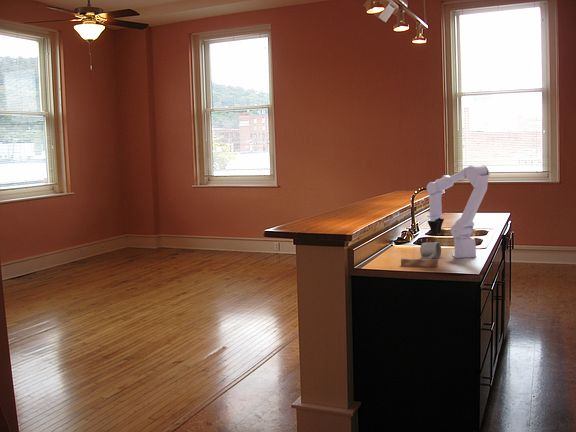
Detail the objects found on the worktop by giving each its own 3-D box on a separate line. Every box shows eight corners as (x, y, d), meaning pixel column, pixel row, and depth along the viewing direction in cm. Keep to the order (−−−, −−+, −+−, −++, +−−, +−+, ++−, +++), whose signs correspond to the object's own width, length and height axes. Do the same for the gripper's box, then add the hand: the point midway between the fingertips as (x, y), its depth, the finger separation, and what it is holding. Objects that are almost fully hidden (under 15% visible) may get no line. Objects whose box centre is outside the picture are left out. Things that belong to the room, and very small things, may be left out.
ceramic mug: (425, 256, 312) (424, 240, 311) (441, 256, 308) (441, 240, 307) (416, 260, 304) (416, 243, 303) (433, 260, 299) (433, 244, 298)
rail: (401, 265, 290) (400, 259, 289) (402, 264, 291) (402, 258, 291) (436, 266, 283) (436, 260, 282) (437, 266, 284) (437, 259, 284)
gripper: (430, 205, 324) (431, 232, 325) (423, 208, 311) (424, 236, 312) (445, 205, 321) (445, 232, 322) (438, 207, 308) (439, 236, 309)
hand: (436, 234), depth 317 cm, fingers open, 7 cm apart
